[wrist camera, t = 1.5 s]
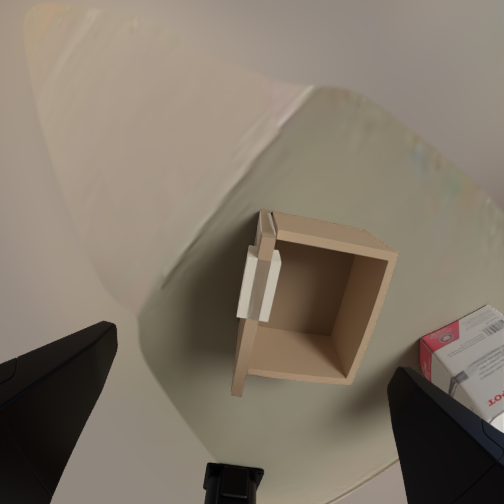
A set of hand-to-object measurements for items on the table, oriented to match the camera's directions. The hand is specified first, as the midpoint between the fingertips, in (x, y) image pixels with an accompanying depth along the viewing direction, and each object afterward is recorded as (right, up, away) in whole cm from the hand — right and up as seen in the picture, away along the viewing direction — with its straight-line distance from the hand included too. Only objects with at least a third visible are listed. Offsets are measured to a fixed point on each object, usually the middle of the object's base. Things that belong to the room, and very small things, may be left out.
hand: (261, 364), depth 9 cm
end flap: (0, +2, +14) cm, 14 cm away
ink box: (+19, -5, +16) cm, 25 cm away
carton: (+4, +1, +14) cm, 14 cm away
